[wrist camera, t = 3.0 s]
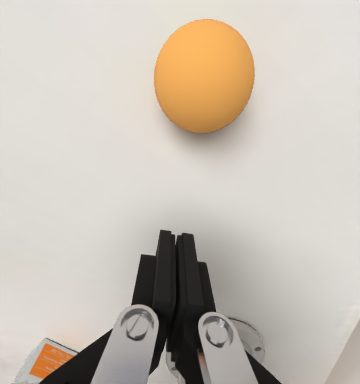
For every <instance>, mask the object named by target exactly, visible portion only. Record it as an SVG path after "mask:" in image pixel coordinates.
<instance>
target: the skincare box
mask: <svg viewBox="0 0 360 384" xmlns="http://www.w3.org/2000/svg"><path fill="white" fill-rule="evenodd" d="M77 354H78V353H76V352H74V351H72V350H69V349H67V348H65V347H63V346H61V345H59V344H57V343H55V342H52V341H50V340H49V339H47V338H45V339H44V340H43V341H42V342H41V343H40V344H39V345H38V346H37V347H36V348H35V349H34V350H33V351H32V352H31V353H30V355H29V356H28V358H27V359H26V361H25V363H24V365H23V366H22V368H21V370H20V371H19V373H18V375H17V376H16V378H15V380H14V381H13V383H18V382H23V381H28V384H29V383H34V382H39V381H42V380H43V379H44V378H45V377H46V376H48V375H49V374H50V373H52V372H53V371H55V370H56V369H57V368H59V367H60V366H62V365H63V364H64V363H66V362H67V361H68V360H70V359H71V358H73V357H74V356H75V355H77ZM13 383H12V384H13Z"/></svg>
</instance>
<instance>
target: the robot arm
mask: <svg viewBox="0 0 360 384" xmlns="http://www.w3.org/2000/svg"><path fill="white" fill-rule="evenodd" d="M166 338H167V342H166ZM165 342H166V363H167V366H168V368H169V370H170V371H171V373H172V374H173V375H174V376H176V377H177V378H178V384H281V383H280V382H279V381H278V380H277V379H276V378H275V377H274V376H273V375H272V374H271V373H270V372H269V371H267V370H266V369H265V368H264V367H263V366H262V365H261V363H262V361H263V358H264V353H265V350H264V346H263V343H262V341H261V338H260V336H259V335H258V333H257V332H256V331H255V330H254V329H253V328H252V327H250V326H248V325H247V324H245V323H243V322H239V321H236V320H232V319H228V318H227V317H225V316H224V315H223V314H220V313H218V312H216V308H215V303H214V299H213V294H212V289H211V284H210V279H209V274H208V269H207V265H206V263H205V262H198V261H197V256H196V249H195V243H194V236H193V234H187V233H182V235H178V236H177V240H176V245H175V235H174V234H171V231H166V230H160V235H159V240H158V246H157V251H156V256H151V255H143V254H141V258H140V263H139V269H138V274H137V279H136V284H135V289H134V294H133V299H132V304H131V306H129V307H127V308H125V309H124V310H123V311H122V312H121V313H120V315H119V317H118V318H117V321H116V323H115V325H114V328H113V329H111V330H110V331H109V332H107V333H106V334H104V335H103V336H102V337H100V338H99V339H97V340H96V341H95V342H93V343H92V344H91V345H89V346H88V347H86V348H85V349H84V350H82V351H81V352H80V353H78V354H77V355H75V356H74V357H73V358H71V359H70V360H68V361H67V362H66V363H64V364H63V365H62V366H60V367H59V368H57V369H56V370H55V371H53V372H52V373H50V374H49V375H48V376H46V377H45V378H44V379H43V380H42V381H39V382H34V383H29V384H147V380H148V376H149V375H150V374H151V373H152V372H153V371H154V370H155V369H156V368H157V367H158V365H159V361H160V357H161V353H162V352H163V349H164V346H165ZM13 384H28V381H23V382H18V383H13Z"/></svg>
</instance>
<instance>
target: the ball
mask: <svg viewBox="0 0 360 384" xmlns="http://www.w3.org/2000/svg"><path fill="white" fill-rule="evenodd" d="M253 85H254V61H253V57H252V54H251V51H250V48H249V46H248V45H247V43H246V41H245V40H244V38H243V37H242V36H241V35H240V34H239V32H238V31H237V30H235V29H234V28H233V27H231V26H229V25H228V24H226V23H223V22H220V21H217V20H211V19H202V20H196V21H193V22H190V23H188V24H186V25H184V26H182V27H181V28H179V29H178V30H176V31H175V32H174V33H173V34H172V35H171V36H170V37H169V39H168V40H167V41H166V42H165V44H164V45H163V47H162V49H161V51H160V53H159V55H158V58H157V61H156V65H155V71H154V87H155V93H156V96H157V100H158V102H159V104H160V106H161V108H162V110H163V112H164V113H165V114H166V116H167V117H168V118H169V119H170V120H171V121H172V122H173V123H175V124H176V125H177V126H179V127H181V128H183V129H185V130H187V131H191V132H196V133H207V132H212V131H216V130H219V129H221V128H223V127H225V126H226V125H228V124H230V123H231V122H232V121H233V120H235V119H236V118H237V117H238V116H239V114H240V113H241V112H242V111H243V109H244V108H245V106H246V104H247V102H248V100H249V98H250V95H251V93H252V89H253Z"/></svg>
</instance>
